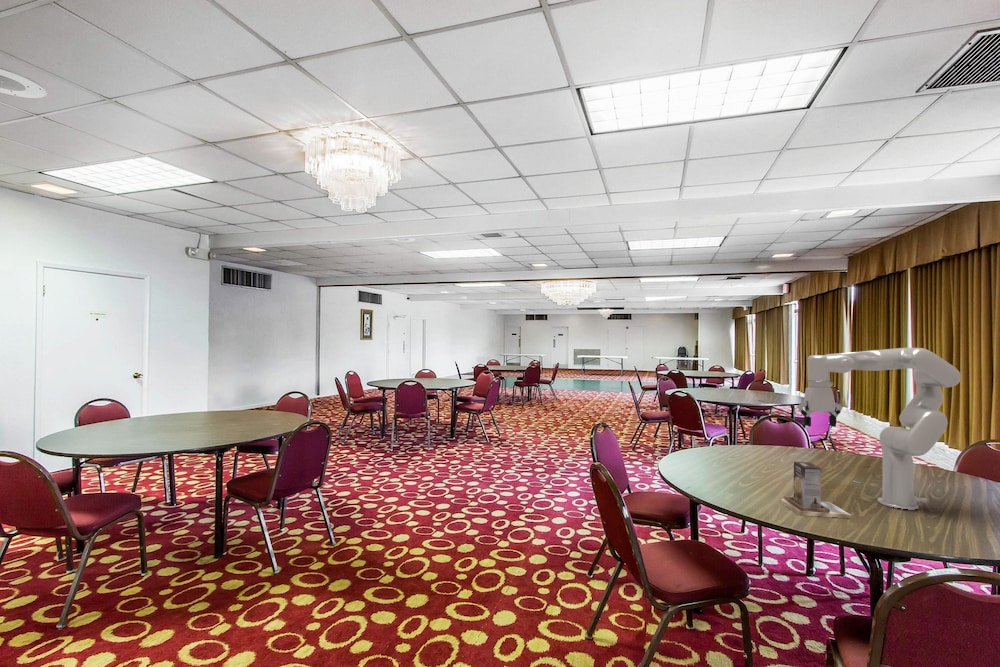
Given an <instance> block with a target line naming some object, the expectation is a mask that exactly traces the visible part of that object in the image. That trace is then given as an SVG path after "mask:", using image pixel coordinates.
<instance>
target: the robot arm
mask: <svg viewBox="0 0 1000 667" xmlns="http://www.w3.org/2000/svg"><path fill="white" fill-rule="evenodd" d="M903 369H910V370H911V369H912V370H913V371H912V378H913V380H914V382H915V383H914V384H915V385H916V392H915V394H914V396H913V398H911V400H910V401H909V403H908V404H907V405H906V406H905V407H904V409H903V410H902V411H901V413H900V414H899V418H898V419H899V422H900V423H901V425H903V427H900V426H887V427H885V428H883V429H882V430H881V431H880V433H879V442H880V446H881V454H882V455H881V456H882V491H881V492H882V493H881V494H882V495H881V497H880V496H879V497H877V502H878V503H879V504H880V505H883V506H886V507H889V508H893V507H894V508H893V509H897V508H901V509H900V510H903V509H908V510H907V511H916V510H915V509H918V508H919V503H920V504H927V503H928V499H927V498H926V497H918V496H916V495H915V494H914V466H915V465H914V459H913V457H912V456H915V457H921V456H924V455H926V454H927V453H929V451H931V450H932V449H933V447H934V446H935V444H936V443H937V442H938V441H939V439H941V437H942V436H943V435H944V433H945V432H946V431H947V429H948V428H947V427H948V418H947V416H946V414H944V413H943V412H942V411H940V410H939V409H940V408H941V407H942V405H943V402H944V393H943V390H942V388H953V387H955V386H958V384H959V383H960V382H961V379H962V375H961V373H960V371H959V370H958V368H956V366H954V365H952V364H951V363H949V362H948V361H946V360H945V359H944V358H942V357H941V356H939V355H938V354H936V353H934V352H933V351H930V350H928V349H927V348H923V347H898V348H887V349H886V348H884V349H872V350H862V351H853V352H852V351H850V352H841V353H840V352H839V353H838V352H837V353H826V354H822V355H821V354H820V355H819V354H816V355H814V354H812V355H809V356H808V357H807V384H808V386H807V387H806V388H805V392H804V397H803V398H804V399H803V402H802V403H800V404H798V405H796V408H797V410H798V411H799V413H800V414H801V415H802V416H803V418H804V419H803V421H804V425H805V426H806V427H812V417H811V415H812V413H828V414H829V415H828V416H829V417H828V418H829V419H828V420H829V422H828V423H829V426H830V427H835V428H836V427H837V418H838V416H839V415H840V414H841V411H842V410H843V405H841V404H839V403H837V402H835V395H834V392H833V388H831V387H832V386H834V382H833V381H831V373H838V374H845V373H848V372H851V371H868V372H869V371H871V372H874V371H875V372H876V371H877V372H878V371H889V370H890V371H891V370H903ZM904 427H906V428H904ZM918 510H919V509H918Z"/></svg>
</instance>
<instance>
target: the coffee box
mask: <svg viewBox="0 0 1000 667" xmlns="http://www.w3.org/2000/svg"><path fill="white" fill-rule="evenodd" d="M793 497H794V502H796V503H797V504H799V505H800V506H802V507H810V508H821V501H822V468H821V467H819V466H818V465H816V464H814V463H813V462H810V461H809V462H808V461H807V462H806V461H805V462H804V461H793Z"/></svg>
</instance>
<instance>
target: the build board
mask: <svg viewBox="0 0 1000 667" xmlns="http://www.w3.org/2000/svg"><path fill="white" fill-rule="evenodd" d="M783 497H784V498H780V503H781V504H782V505H784V506H785V507H787V508H788V509H790V510H791V511H792V512H794V513H795V514H797V515H798V516H801V517H802V516H806V517H817V516H821V517H820V518H832V517H838V518H837V519H847V518H851V519H852V514H850V513H849V512H847V511H845V510H844V509H842V508H840V507H839V506H837V505H835V504H833V503H832V502H830V501H826V500H825V501H822V500H821V508H810V507H802V506H800V505H799V504H797V503H796V502H794V496H783Z"/></svg>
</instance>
